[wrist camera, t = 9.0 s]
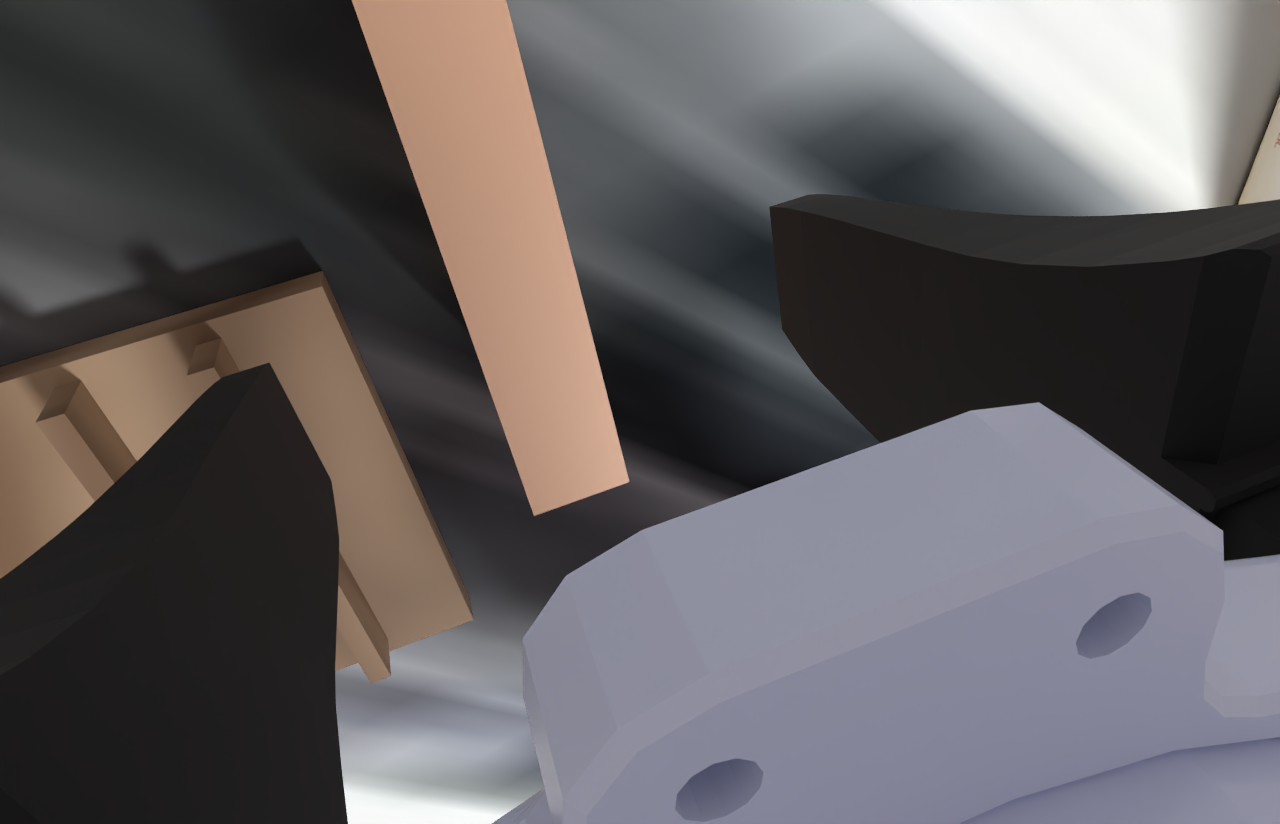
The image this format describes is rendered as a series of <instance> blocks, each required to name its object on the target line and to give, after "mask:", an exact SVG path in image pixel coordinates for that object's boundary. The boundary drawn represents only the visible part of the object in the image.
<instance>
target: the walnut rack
mask: <svg viewBox="0 0 1280 824" xmlns="http://www.w3.org/2000/svg"><path fill="white" fill-rule="evenodd" d="M266 363H270V364H271V366H272V368H273V370H274V372H275V374H276V376H277V378H278V380H279V382H280V383H281V385H282V387H283V389H284V391H285V393H286V395H287V397H288V399H289V401H290V403H291V404H292V406H293V408H294V410H295V412H296V414H297V416H298V418H299V420H300V422H301V423H302V425H303V427H304V429H305V431H306V433H307V435H308V437H309V439H310V441H311V442H312V444H313V446H314V448H315V450H316V452H317V454H318V456H319V458H320V460H321V462H322V463H323V465H324V467H325V469H326V471H327V473H328V475H329V477H330V479H331V481H332V487H333V494H334V501H335V508H336V515H337V524H338V532H339V575H338V605H337V633H336V661H335V671H337V670H339V669H342V668H345V667H348V666H350V665H353V664H356V663H359V664H360V666H361V668H362V669H363V671H364V673H365V674H366V676H367V678H368V679H369V681H370V683H373V682H376V681H379V680H381V679H384V678H387V677H389V676H391V671H390V657H389V651H391V650H394V649H396V648H399V647H402V646H405V645H407V644H410V643H413V642H415V641H418V640H421V639H424V638H426V637H429V636H432V635H434V634H437V633H440V632H443V631H445V630H448V629H451V628H454V627H456V626H459V625H462V624H464V623H467V622H470V621H473V620H474V619H473V614H472V609H471V603H470V598H469V596H468V594H467V592H466V589H465V587H464V585H463V583H462V580H461V578H460V576H459V574H458V572H457V569H456V567H455V565H454V563H453V560H452V558H451V556H450V554H449V552H448V549H447V547H446V545H445V543H444V540H443V538H442V536H441V534H440V531H439V529H438V527H437V525H436V523H435V520H434V518H433V516H432V514H431V511H430V509H429V507H428V505H427V502H426V500H425V498H424V496H423V494H422V491H421V489H420V487H419V485H418V482H417V480H416V478H415V476H414V473H413V471H412V469H411V467H410V465H409V462H408V460H407V458H406V456H405V453H404V451H403V449H402V447H401V445H400V442H399V440H398V438H397V436H396V433H395V431H394V429H393V427H392V424H391V422H390V420H389V418H388V416H387V413H386V411H385V409H384V407H383V404H382V402H381V400H380V398H379V395H378V393H377V391H376V389H375V387H374V384H373V382H372V380H371V378H370V375H369V373H368V371H367V369H366V367H365V364H364V362H363V360H362V358H361V355H360V353H359V351H358V349H357V346H356V344H355V342H354V340H353V338H352V335H351V333H350V331H349V329H348V326H347V324H346V322H345V320H344V317H343V315H342V313H341V311H340V309H339V306H338V304H337V302H336V300H335V297H334V295H333V293H332V291H331V288H330V286H329V284H328V282H327V280H326V277H325V275H324V273H323V271H320V272H317V273H313V274H310V275H307V276H303V277H300V278H297V279H293V280H290V281H287V282H283V283H280V284H276V285H273V286H270V287H266V288H263V289H260V290H256V291H253V292H250V293H246V294H243V295H240V296H236V297H233V298H229V299H226V300H223V301H219V302H216V303H213V304H209V305H206V306H203V307H199V308H196V309H193V310H189V311H186V312H182V313H179V314H176V315H172V316H169V317H166V318H162V319H159V320H156V321H152V322H149V323H146V324H142V325H139V326H135V327H132V328H129V329H125V330H122V331H119V332H115V333H112V334H109V335H105V336H102V337H99V338H95V339H92V340H88V341H85V342H82V343H78V344H75V345H72V346H68V347H65V348H62V349H58V350H55V351H52V352H48V353H45V354H41V355H38V356H35V357H31V358H28V359H25V360H21V361H18V362H15V363H11V364H8V365H5V366H1V367H0V579H1V578H2V577H3V576H5V575H6V574H8V573H9V572H10V571H12V570H13V569H14V568H16V567H17V566H18V565H20V564H21V563H22V562H23V561H25V560H26V559H27V558H29V557H30V556H31V555H32V554H34V553H35V552H36V551H37V550H39V549H40V548H41V547H42V546H44V545H45V544H46V543H48V542H49V541H50V540H51V539H53V538H54V537H55V536H56V535H58V534H59V533H60V532H61V531H62V530H63V529H65V528H66V527H67V526H68V525H69V524H71V523H72V522H73V521H74V520H75V519H76V518H78V517H79V516H80V515H81V514H82V513H83V512H84V511H85V510H87V509H88V508H89V507H90V506H91V505H92V504H93V503H94V502H95V501H96V500H97V499H98V498H99V497H100V496H101V495H102V494H103V493H105V492H106V491H107V490H108V489H109V488H110V487H111V486H112V485H113V484H114V483H115V482H116V481H117V480H118V479H119V478H120V477H121V476H122V475H123V474H124V473H125V472H126V471H128V470H129V469H130V468H131V467H132V466H133V465H134V464H135V463H136V462H137V461H138V460H139V459H140V458H141V457H142V456H143V455H144V454H145V453H146V452H147V451H148V450H149V449H150V448H151V447H152V446H153V445H154V443H155V442H156V441H157V440H158V439H159V438H160V437H161V436H162V435H163V434H164V433H165V432H166V431H167V430H168V429H169V428H170V427H171V426H172V425H173V424H174V423H175V422H176V421H177V420H178V418H179V417H180V416H181V415H182V414H183V413H184V412H185V411H186V410H187V409H188V408H189V407H190V406H191V405H192V404H193V403H194V402H195V401H196V400H197V399H198V398H199V397H200V396H201V395H202V394H203V393H204V392H205V391H206V390H207V389H208V388H209V387H211V386H212V385H213V384H214V383H215V382H217V381H218V380H219V379H221V378H222V377H224V376H228V375H231V374H234V373H237V372H240V371H244V370H247V369H250V368H253V367H257V366H260V365H263V364H266Z"/></svg>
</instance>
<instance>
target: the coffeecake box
mask: <svg viewBox="0 0 1280 824" xmlns="http://www.w3.org/2000/svg"><path fill="white" fill-rule="evenodd" d="M1278 199H1280V96H1279V99H1278V101H1277V104H1276V106H1275V109H1274V112H1273V115H1272V117H1271V120H1270V123H1269V125H1268V128H1267V130H1266V133H1265V135H1264V138H1263V140H1262V143H1261V145H1260V148H1259V150H1258V153H1257V156H1256V158H1255V161H1254V164H1253V166H1252V169H1251V172H1250V174H1249V177H1248V180H1247V182H1246V185H1245V187H1244V190H1243V192H1242V195H1241V197H1240V200H1239V203H1238V205H1241V204H1248V203H1256V202H1264V201H1271V200H1278Z"/></svg>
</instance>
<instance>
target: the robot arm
mask: <svg viewBox="0 0 1280 824" xmlns="http://www.w3.org/2000/svg"><path fill="white" fill-rule="evenodd" d="M770 217H771V226H772V236H773V245H774V255H775V264H776V274H777V283H778V293H779V302H780V312H781V321H782V330H783V331H784V333H785V334H786V336H787V337H788V339H789V340H790V342H791V343H792V345H793V346H794V348H795V349H796V351H797V352H798V354H799V355H800V356H801V358H802V359H803V360H804V362H805V363H806V365H807V366H808V367H809V369H810V370H811V371H812V373H813V374H814V375H815V376H816V377H817V378H818V380H819V381H820V382H821V383H822V384H823V385H824V386H825V387H826V388H827V389H828V390H829V391H830V392H831V393H832V394H833V395H834V396H835V397H836V398H837V399H838V400H839V401H840V402H841V403H842V404H843V406H844V407H845V408H846V409H847V410H848V411H849V412H850V413H851V414H852V415H853V416H854V417H855V418H856V419H857V420H858V421H859V422H860V423H861V424H862V425H863V426H864V427H865V428H866V429H867V430H868V431H869V432H870V433H871V434H872V435H873V436H874V437H875V438H876V439H877V440H878V441H879V442H880V444H878V445H875V446H872V447H869V448H867V449H864V450H861V451H858V452H855V453H853V454H850V455H847V456H844V457H842V458H839V459H836V460H833V461H831V462H828V463H825V464H822V465H820V466H817V467H814V468H811V469H809V470H806V471H803V472H800V473H798V474H795V475H792V476H789V477H787V478H784V479H781V480H778V481H776V482H773V483H770V484H767V485H765V486H762V487H759V488H756V489H754V490H751V491H748V492H745V493H743V494H740V495H737V496H734V497H732V498H729V499H726V500H723V501H721V502H718V503H715V504H712V505H710V506H707V507H704V508H701V509H699V510H696V511H693V512H690V513H688V514H685V515H682V516H679V517H676V518H674V519H671V520H668V521H665V522H663V523H660V524H657V525H654V526H652V527H649V528H646V529H643V530H641V531H639V532H638V533H636V534H634V535H633V536H631V537H629V538H628V539H626V540H624V541H623V542H621V543H619V544H618V545H616V546H614V547H613V548H611V549H609V550H608V551H606V552H604V553H603V554H601V555H600V556H598V557H596V558H595V559H593V560H591V561H590V562H588V563H586V564H585V565H583V566H581V567H580V568H578V569H576V570H575V571H573V572H571V573H570V574H568V575H566V576H565V578H564V579H563V581H562V582H561V584H560V585H559V586H558V588H557V589H556V591H555V592H554V594H553V595H552V597H551V598H550V600H549V601H548V602H547V604H546V605H545V607H544V608H543V610H542V611H541V613H540V614H539V616H538V617H537V619H536V620H535V621H534V623H533V624H532V626H531V627H530V629H529V630H528V632H527V633H526V635H525V636H524V637H523V697H524V702H525V706H526V710H527V715H528V719H529V723H530V727H531V732H532V736H533V740H534V744H535V749H536V753H537V757H538V762H539V766H540V770H541V774H542V779H543V783H544V787H545V788H544V789H542V790H541V791H539V792H538V793H536V794H535V795H533V796H532V797H531V798H529V799H528V800H526V801H525V802H523V803H522V804H520V805H519V806H517V807H516V808H514V809H513V810H511V811H510V812H508V813H507V814H505V815H504V816H502V817H501V818H500V819H498V820H497V821H495V822H494V823H492V824H1280V199H1278V200H1271V201H1264V202H1256V203H1248V204H1241V205H1233V206H1225V207H1217V208H1209V209H1199V210H1189V211H1179V212H1167V213H1151V214H1134V215H1117V216H1084V217H1074V216H1023V215H1004V214H992V213H981V212H970V211H959V210H950V209H941V208H933V207H925V206H918V205H910V204H903V203H896V202H889V201H882V200H874V199H867V198H859V197H851V196H841V195H828V194H815V195H806V196H803V197H800V198H797V199H793V200H790V201H787V202H784V203H780V204H777V205H774V206H771V207H770ZM338 575H339V532H338V524H337V515H336V508H335V501H334V494H333V487H332V481H331V479H330V477H329V475H328V473H327V471H326V469H325V467H324V465H323V463H322V462H321V460H320V458H319V456H318V454H317V452H316V450H315V448H314V446H313V444H312V442H311V441H310V439H309V437H308V435H307V433H306V431H305V429H304V427H303V425H302V423H301V422H300V420H299V418H298V416H297V414H296V412H295V410H294V408H293V406H292V404H291V403H290V401H289V399H288V397H287V395H286V393H285V391H284V389H283V387H282V385H281V383H280V382H279V380H278V378H277V376H276V374H275V372H274V370H273V368H272V366H271V364H270V363H266V364H263V365H260V366H257V367H253V368H250V369H247V370H244V371H240V372H237V373H234V374H231V375H228V376H224V377H222V378H221V379H219V380H218V381H217V382H215V383H214V384H213V385H212V386H211V387H209V388H208V389H207V390H206V391H205V392H204V393H203V394H202V395H201V396H200V397H199V398H198V399H197V400H196V401H195V402H194V403H193V404H192V405H191V406H190V407H189V408H188V409H187V410H186V411H185V412H184V413H183V414H182V415H181V416H180V417H179V418H178V420H177V421H176V422H175V423H174V424H173V425H172V426H171V427H170V428H169V429H168V430H167V431H166V432H165V433H164V434H163V435H162V436H161V437H160V438H159V439H158V440H157V441H156V442H155V443H154V445H153V446H152V447H151V448H150V449H149V450H148V451H147V452H146V453H145V454H144V455H143V456H142V457H141V458H140V459H139V460H138V461H137V462H136V463H135V464H134V465H133V466H132V467H131V468H130V469H129V470H128V471H126V472H125V473H124V474H123V475H122V476H121V477H120V478H119V479H118V480H117V481H116V482H115V483H114V484H113V485H112V486H111V487H110V488H109V489H108V490H107V491H106V492H105V493H103V494H102V495H101V496H100V497H99V498H98V499H97V500H96V501H95V502H94V503H93V504H92V505H91V506H90V507H89V508H88V509H87V510H85V511H84V512H83V513H82V514H81V515H80V516H79V517H78V518H76V519H75V520H74V521H73V522H72V523H71V524H69V525H68V526H67V527H66V528H65V529H63V530H62V531H61V532H60V533H59V534H58V535H56V536H55V537H54V538H53V539H51V540H50V541H49V542H48V543H46V544H45V545H44V546H42V547H41V548H40V549H39V550H37V551H36V552H35V553H34V554H32V555H31V556H30V557H29V558H27V559H26V560H25V561H23V562H22V563H21V564H20V565H18V566H17V567H16V568H14V569H13V570H12V571H10V572H9V573H8V574H6V575H5V576H3V577H2V578H1V579H0V824H348V822H347V813H346V804H345V796H344V787H343V778H342V769H341V758H340V747H339V736H338V726H337V715H336V699H335V661H336V633H337V605H338Z"/></svg>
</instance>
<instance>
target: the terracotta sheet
mask: <svg viewBox="0 0 1280 824" xmlns="http://www.w3.org/2000/svg"><path fill="white" fill-rule="evenodd" d="M352 2H353V5H354V8H355V11H356V14H357V17H358V19H359V22H360V25H361V28H362V31H363V34H364V36H365V39H366V42H367V45H368V48H369V51H370V53H371V56H372V59H373V62H374V65H375V68H376V70H377V73H378V76H379V79H380V82H381V84H382V87H383V90H384V93H385V96H386V99H387V101H388V104H389V107H390V110H391V113H392V116H393V118H394V121H395V124H396V127H397V130H398V133H399V135H400V138H401V141H402V144H403V147H404V150H405V152H406V155H407V158H408V161H409V164H410V166H411V169H412V172H413V175H414V178H415V181H416V183H417V186H418V189H419V192H420V195H421V198H422V200H423V203H424V206H425V209H426V212H427V215H428V217H429V220H430V223H431V226H432V229H433V232H434V234H435V237H436V240H437V243H438V246H439V248H440V251H441V254H442V257H443V260H444V263H445V265H446V268H447V271H448V274H449V277H450V280H451V282H452V285H453V288H454V291H455V294H456V297H457V299H458V302H459V305H460V308H461V311H462V314H463V316H464V319H465V322H466V325H467V328H468V331H469V333H470V336H471V339H472V342H473V345H474V347H475V350H476V353H477V356H478V359H479V362H480V364H481V367H482V370H483V373H484V376H485V379H486V381H487V384H488V387H489V390H490V393H491V396H492V398H493V401H494V404H495V407H496V410H497V413H498V415H499V418H500V421H501V424H502V427H503V429H504V432H505V435H506V438H507V441H508V444H509V446H510V449H511V452H512V455H513V458H514V461H515V463H516V466H517V469H518V472H519V475H520V478H521V480H522V483H523V486H524V489H525V492H526V495H527V497H528V500H529V503H530V506H531V509H532V511H533V514H534V516H536V515H538V514H541V513H544V512H547V511H550V510H552V509H555V508H558V507H561V506H564V505H566V504H569V503H572V502H575V501H578V500H580V499H583V498H586V497H589V496H592V495H594V494H597V493H600V492H603V491H606V490H609V489H611V488H614V487H617V486H620V485H623V484H625V483H628V482H629V478H628V474H627V470H626V466H625V462H624V458H623V455H622V451H621V447H620V443H619V439H618V435H617V431H616V427H615V423H614V419H613V416H612V412H611V408H610V404H609V400H608V396H607V392H606V388H605V384H604V380H603V377H602V373H601V369H600V365H599V361H598V357H597V353H596V349H595V345H594V341H593V338H592V334H591V330H590V326H589V322H588V318H587V314H586V310H585V306H584V302H583V299H582V295H581V291H580V287H579V283H578V279H577V275H576V271H575V267H574V263H573V259H572V256H571V252H570V248H569V244H568V240H567V236H566V232H565V228H564V224H563V220H562V217H561V213H560V209H559V205H558V201H557V197H556V193H555V189H554V185H553V181H552V178H551V174H550V170H549V166H548V162H547V158H546V154H545V150H544V146H543V142H542V139H541V135H540V131H539V127H538V123H537V119H536V115H535V111H534V107H533V103H532V100H531V96H530V92H529V88H528V84H527V80H526V76H525V72H524V68H523V64H522V61H521V57H520V53H519V49H518V45H517V41H516V37H515V33H514V29H513V25H512V21H511V18H510V14H509V10H508V6H507V2H506V0H352Z"/></svg>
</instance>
